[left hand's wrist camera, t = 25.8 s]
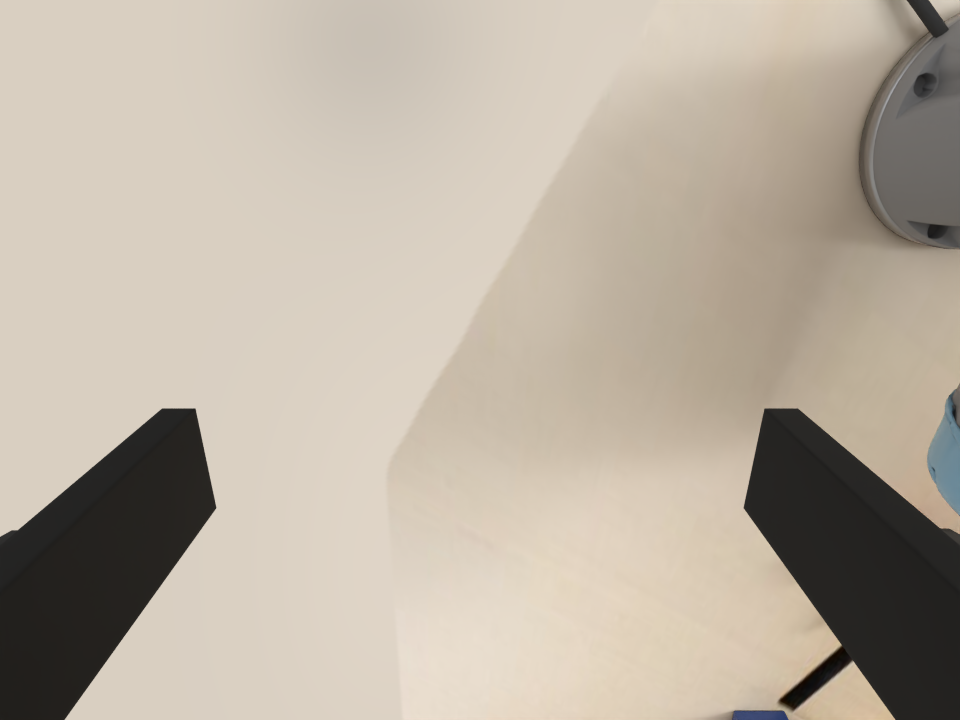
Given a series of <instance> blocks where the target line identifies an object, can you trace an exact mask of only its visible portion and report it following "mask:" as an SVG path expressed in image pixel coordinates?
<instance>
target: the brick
mask: <svg viewBox="0 0 960 720" xmlns="http://www.w3.org/2000/svg"><path fill="white" fill-rule="evenodd" d="M732 720H788V718H787V716H786V714H785V712H784V711H734V714H733V718H732Z"/></svg>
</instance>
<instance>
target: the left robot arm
mask: <svg viewBox="0 0 960 720" xmlns="http://www.w3.org/2000/svg"><path fill="white" fill-rule="evenodd" d="M907 1H908V2H909V4H910V5H911V6H912V8H913V9H914V11H915V12H916V13H917V15H918V16H919V18H920V19H921V20H922V22H923V23H924V25H925V26H926V27H927V29H928V30H929V33H928V34H927V35H925V36H924V37H923V38H922V39H920V40H919V41H918V42H917V43H916V44H915V45H914V46H913V47H912V48H911V49H910V50H909V51H908V52H907V53H906V54H905V55H904V56H903V57H902V58H901V60H900V61H899V62H898V63H897V65H896V66H895V67H894V68H893V70H892V71H891V73H890V74H889V75H888V77H887V78H886V80H885V81H884V83H883V85H882V86H881V88H880V90H879V92H878V93H877V95H876V98H875V100H874V102H873V104H872V106H871V108H870V111H869V114H868V116H867V119H866V123H865V126H864V129H863V134H862V139H861V145H860V159H859V166H860V177H861V182H862V187H863V190H864V193H865V196H866V198H867V201H868V203H869V205H870V207H871V208H872V210H873V212H874V213H875V215H876V216H877V217H878V218H879V220H880V221H881V222H882V223H883V224H884V225H885V226H886V227H888V228H889V229H890V230H892V231H893V232H894V233H896V234H898V235H899V236H901V237H903V238H906V239H908V240H910V241H914V242H917V243H920V244H925V245H929V246H933V247H939V248H946V249H960V14H957V15H955V16H954V17H952V18H950V19H948V20H947V21H945V22H944V21H943V20H942V18H941V17H940V16H939V14H938V13H937V11H936V10H935V8H934V7H933V6H932V4H931V3H930V1H929V0H907ZM927 464H928V469H929V472H930V474H931V477H932V479H933V481H934V482H935V483H936V485H937V488H938V491H939V492H940V494H941V495H942V496H943V498H944V499H945V500H946V502H947V503H948V504H949V505H950V506H951V507H952V508H953V509H954V511H955V512H956V513H957V514H958V515H959V516H960V384H959V386H958V388H957V389H955V390H954V391H953V392H952V393H951V395H949V397H948V399H947V400H946V404H945V414H944V417H943V419H942V421H941V423H940V426H939V428H938V430H937V432H936V434H935V436H934V438H933V440H932V442H931V444H930V447H929V450H928V455H927ZM215 509H216V504H215V499H214V495H213V490H212V485H211V480H210V476H209V471H208V466H207V461H206V457H205V452H204V447H203V443H202V438H201V433H200V428H199V423H198V419H197V414H196V409H161V410H160V411H159V412H158V413H156V414H155V415H154V416H153V417H152V418H150V419H149V420H148V421H147V422H146V423H145V424H143V425H142V426H141V427H140V428H139V429H137V430H136V431H135V432H134V433H133V434H132V435H130V436H129V437H128V438H127V439H126V440H124V441H123V442H122V443H121V444H120V445H118V446H117V447H116V448H115V449H114V450H113V451H111V452H110V453H109V454H108V455H107V456H105V457H104V458H103V459H102V460H101V461H99V462H98V463H97V464H96V465H95V466H94V467H92V468H91V469H90V470H89V471H88V472H86V473H85V474H84V475H83V476H82V477H81V478H79V479H78V480H77V481H76V482H75V483H73V484H72V485H71V486H70V487H69V488H68V489H66V490H65V491H64V492H63V493H62V494H60V495H59V496H58V497H57V498H56V499H54V500H53V501H52V502H51V503H50V504H49V505H47V506H46V507H45V508H44V509H43V510H41V511H40V512H39V513H38V514H37V515H35V516H34V517H33V518H32V519H31V520H30V521H28V522H27V523H26V524H25V525H24V526H22V527H21V528H20V529H19V530H15V531H14V530H12V531H10V532H8V533H6V534H5V535H3V536H1V537H0V720H65V718H66V717H67V715H68V714H69V713H70V711H71V710H72V708H73V707H74V706H75V704H76V703H77V702H78V700H79V699H80V697H81V696H82V695H83V693H84V692H85V690H86V689H87V688H88V686H89V685H90V683H91V682H92V681H93V679H94V678H95V676H96V675H97V674H98V672H99V671H100V669H101V668H102V667H103V665H104V664H105V662H106V661H107V660H108V658H109V657H110V655H111V654H112V653H113V651H114V650H115V648H116V647H117V646H118V644H119V643H120V642H121V640H122V639H123V637H124V636H125V635H126V633H127V632H128V630H129V629H130V628H131V626H132V625H133V623H134V622H135V621H136V619H137V618H138V616H139V615H140V614H141V612H142V611H143V610H144V608H145V607H146V605H147V604H148V603H149V601H150V600H151V598H152V597H153V596H154V594H155V593H156V591H157V590H158V589H159V587H160V586H161V584H162V583H163V582H164V580H165V579H166V577H167V576H168V575H169V573H170V572H171V570H172V569H173V568H174V566H175V565H176V564H177V562H178V561H179V559H180V558H181V557H182V555H183V554H184V552H185V551H186V550H187V548H188V547H189V545H190V544H191V543H192V541H193V540H194V538H195V537H196V536H197V534H198V533H199V531H200V530H201V529H202V527H203V526H204V524H205V523H206V522H207V520H208V519H209V518H210V516H211V515H212V513H213V512H214V511H215ZM744 509H745V511H746V512H747V513H748V515H749V516H750V518H751V519H752V520H753V522H754V523H755V524H756V526H757V527H758V529H759V530H760V531H761V533H762V534H763V536H764V537H765V538H766V540H767V541H768V543H769V544H770V545H771V547H772V548H773V550H774V551H775V552H776V554H777V555H778V557H779V558H780V559H781V561H782V562H783V564H784V565H785V566H786V568H787V569H788V570H789V572H790V573H791V575H792V576H793V577H794V579H795V580H796V582H797V583H798V584H799V586H800V587H801V589H802V590H803V591H804V593H805V594H806V596H807V597H808V598H809V600H810V601H811V603H812V604H813V605H814V607H815V608H816V610H817V611H818V612H819V614H820V615H821V616H822V618H823V619H824V621H825V622H826V623H827V625H828V626H829V628H830V629H831V630H832V632H833V633H834V635H835V636H836V637H837V639H838V640H839V642H840V643H841V644H842V646H843V647H844V649H845V650H846V651H847V653H848V654H849V656H850V657H851V658H852V660H853V661H854V662H855V664H856V665H857V667H858V668H859V669H860V671H861V672H862V674H863V675H864V676H865V678H866V679H867V681H868V682H869V683H870V685H871V686H872V688H873V689H874V690H875V692H876V693H877V695H878V696H879V697H880V699H881V700H882V702H883V703H884V704H885V706H886V707H887V708H888V710H889V711H890V713H891V714H892V715H893V717H894V718H895V720H960V534H958V533H956V532H954V531H952V530H951V529H940V528H939V527H938V526H936V525H935V524H934V523H933V522H932V521H930V520H929V519H928V518H927V517H926V516H925V515H923V514H922V513H921V512H920V511H919V510H917V509H916V508H915V507H914V506H913V505H911V504H910V503H909V502H908V501H907V500H906V499H904V498H903V497H902V496H901V495H900V494H898V493H897V492H896V491H895V490H894V489H893V488H891V487H890V486H889V485H888V484H887V483H885V482H884V481H883V480H882V479H881V478H879V477H878V476H877V475H876V474H875V473H874V472H872V471H871V470H870V469H869V468H868V467H866V466H865V465H864V464H863V463H862V462H861V461H859V460H858V459H857V458H856V457H855V456H853V455H852V454H851V453H850V452H849V451H847V450H846V449H845V448H844V447H843V446H842V445H840V444H839V443H838V442H837V441H836V440H834V439H833V438H832V437H831V436H830V435H829V434H827V433H826V432H825V431H824V430H823V429H821V428H820V427H819V426H818V425H817V424H815V423H814V422H813V421H812V420H811V419H810V418H808V417H807V416H806V415H805V414H804V413H802V412H801V411H800V410H799V409H764V414H763V419H762V423H761V428H760V433H759V438H758V442H757V447H756V452H755V457H754V461H753V466H752V471H751V476H750V480H749V485H748V490H747V495H746V499H745V504H744Z"/></svg>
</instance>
